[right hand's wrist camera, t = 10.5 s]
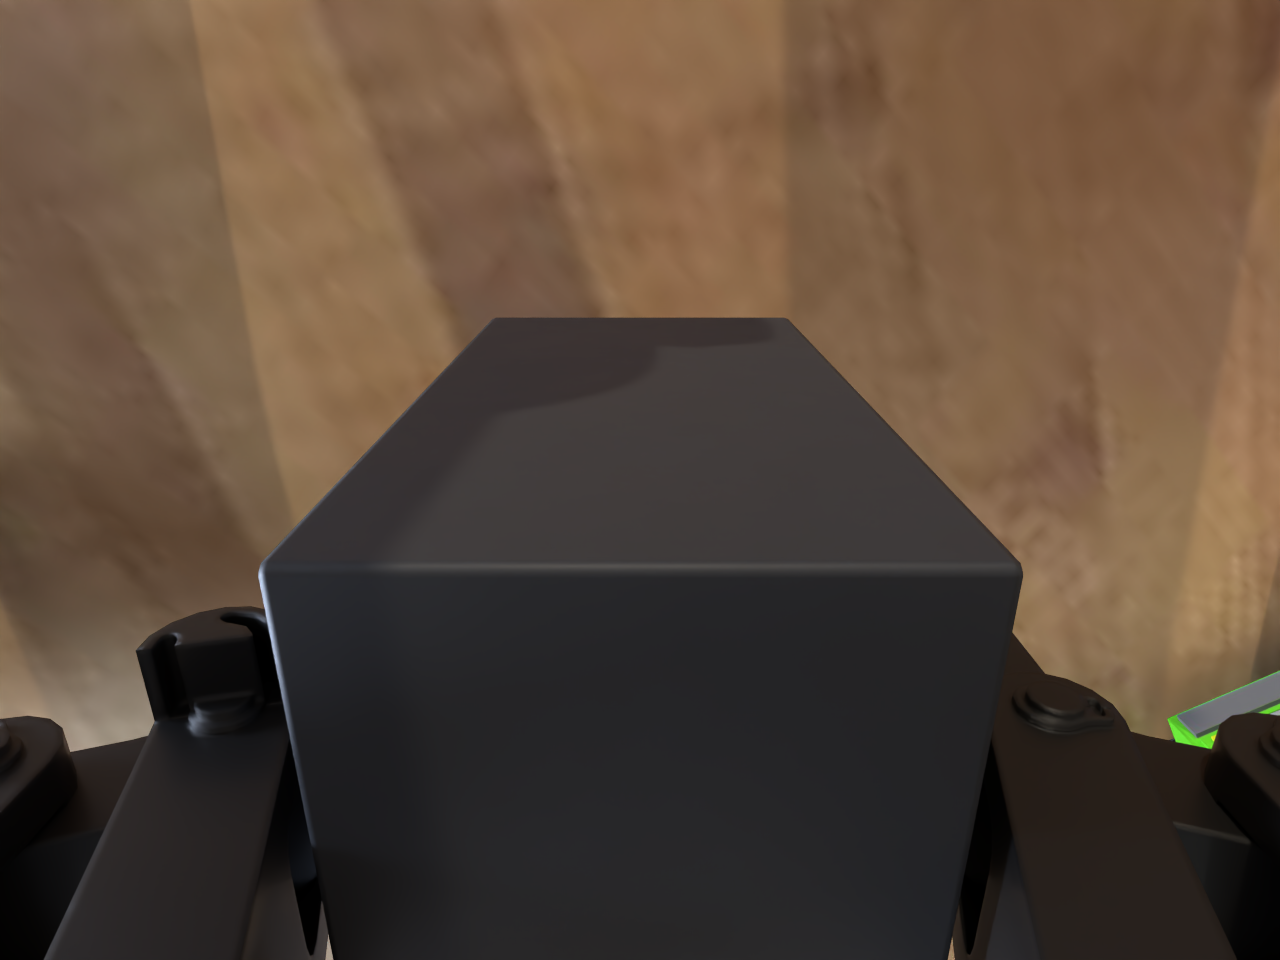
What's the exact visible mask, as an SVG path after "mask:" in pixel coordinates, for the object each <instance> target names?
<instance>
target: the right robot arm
mask: <svg viewBox="0 0 1280 960" xmlns="http://www.w3.org/2000/svg"><path fill="white" fill-rule="evenodd" d="M136 653H137V657H138V661H139V664H140V668H141V672H142V675H143V679H144V683H145V687H146V690H147V694H148V698H149V701H150V705H151V709H152V713H153V716H154V720H155V722H154V725H153V727H152V729H151V731H150V733H149V735H148V736H145V737H141V738H137V739H134V740H129V741H124V742H119V743H114V744H109V745H104V746H99V747H94V748H89V749H84V750H79V751H74V752H70V750H69V747H68V744H67V741H66V738H65V735H64V732H63V729H62V727H60V726H59V725H58V724H56V723H55V722H54V721H52V720H51V719H48V718H40V717H33V716H23V717H14V718H6V719H0V960H325V958H326V949H327V940H328V929H327V924H326V919H325V914H324V908H323V903H322V898H321V893H320V888H319V883H318V878H317V873H316V868H315V863H314V857H313V852H312V847H311V842H310V837H309V832H308V827H307V822H306V817H305V812H304V806H303V801H302V796H301V791H300V786H299V781H298V776H297V771H296V766H295V761H294V755H293V750H292V745H291V740H290V735H289V730H288V725H287V720H286V715H285V710H284V704H283V699H282V694H281V689H280V684H279V679H278V674H277V669H276V664H275V659H274V653H273V648H272V643H271V638H270V633H269V628H268V623H267V618H266V613H265V609H261V608H256V607H251V606H250V607H224V608H219V609H215V610H210V611H205V612H200V613H196V614H194V615H191V616H188V617H186V618H183V619H180V620H177V621H175V622H172V623H170V624H169V625H167V626H165V627H163V628H162V629H160V630H158V631H157V632H155V633H153V634H152V635H150V636H149V637H148V638H147V639H146V640H145V641H144V642H143V643H142V644H141V646H140V647H139V648H138V649H137V650H136ZM952 938H953V947H954V956H955V960H1280V715H1272V714H1264V713H1255V712H1253V713H1245V714H1238V715H1232V716H1230V717H1229V718H1228V719H1226V720H1225V721H1223V722H1222V723H1221V724H1220V725H1219V728H1218V731H1217V734H1216V737H1215V740H1214V743H1213V746H1212V749H1209V748H1204V747H1199V746H1194V745H1189V744H1184V743H1179V742H1174V741H1169V740H1164V739H1159V738H1154V737H1149V736H1145V735H1141V734H1138V733H1134V732H1130V730H1129V727H1128V725H1127V723H1126V721H1125V720H1124V718H1123V717H1122V716H1121V714H1120V713H1119V712H1118V711H1117V709H1116V708H1115V707H1114V706H1113V704H1111V703H1110V702H1108V701H1107V700H1106V699H1104V698H1103V697H1101V696H1100V695H1098V694H1097V693H1096V692H1094V691H1093V690H1091V689H1089V688H1086V687H1084V686H1082V685H1079V684H1077V683H1075V682H1072V681H1070V680H1068V679H1065V678H1060V677H1056V676H1052V675H1047V674H1045V673H1044V672H1043V671H1042V669H1041V668H1040V667H1039V666H1038V664H1037V663H1036V662H1035V661H1034V659H1033V658H1032V657H1031V655H1030V654H1029V653H1028V652H1027V650H1026V649H1025V648H1024V647H1023V645H1022V644H1021V643H1020V642H1019V640H1018V639H1017V638H1016V637H1015V635H1014V634H1013V633H1012V635H1011V640H1010V645H1009V650H1008V655H1007V660H1006V665H1005V670H1004V675H1003V680H1002V686H1001V691H1000V696H999V701H998V706H997V711H996V716H995V721H994V726H993V731H992V736H991V741H990V746H989V752H988V757H987V762H986V767H985V772H984V777H983V782H982V787H981V792H980V797H979V802H978V807H977V812H976V818H975V823H974V828H973V833H972V838H971V843H970V848H969V853H968V858H967V863H966V868H965V873H964V878H963V884H962V889H961V894H960V899H959V904H958V909H957V914H956V919H955V924H954V929H953V934H952Z"/></svg>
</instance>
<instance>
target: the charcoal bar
mask: <svg viewBox="0 0 1280 960" xmlns="http://www.w3.org/2000/svg"><path fill="white" fill-rule="evenodd" d="M258 577H259V582H260V587H261V592H262V597H263V602H264V608H265V613H266V618H267V623H268V628H269V633H270V638H271V643H272V648H273V653H274V659H275V664H276V669H277V674H278V679H279V684H280V689H281V694H282V699H283V704H284V710H285V715H286V720H287V725H288V730H289V735H290V740H291V745H292V750H293V755H294V761H295V766H296V771H297V776H298V781H299V786H300V791H301V796H302V801H303V806H304V812H305V817H306V822H307V827H308V832H309V837H310V842H311V847H312V852H313V857H314V863H315V868H316V873H317V878H318V883H319V888H320V893H321V898H322V903H323V908H324V914H325V919H326V924H327V929H328V934H329V939H330V944H331V949H332V954H333V959H334V960H948V955H949V949H950V944H951V939H952V934H953V929H954V924H955V919H956V914H957V909H958V904H959V899H960V894H961V889H962V884H963V878H964V873H965V868H966V863H967V858H968V853H969V848H970V843H971V838H972V833H973V828H974V823H975V818H976V812H977V807H978V802H979V797H980V792H981V787H982V782H983V777H984V772H985V767H986V762H987V757H988V752H989V746H990V741H991V736H992V731H993V726H994V721H995V716H996V711H997V706H998V701H999V696H1000V691H1001V686H1002V680H1003V675H1004V670H1005V665H1006V660H1007V655H1008V650H1009V645H1010V640H1011V635H1012V630H1013V625H1014V620H1015V614H1016V609H1017V604H1018V599H1019V594H1020V589H1021V584H1022V579H1023V571H1022V567H1021V564H1020V562H1019V561H1018V560H1017V559H1016V558H1015V557H1014V556H1013V555H1012V554H1011V553H1010V552H1009V551H1008V550H1007V549H1006V548H1005V546H1004V545H1003V544H1002V543H1001V542H1000V541H999V540H998V539H997V538H996V537H995V536H994V535H993V534H992V533H991V532H990V531H989V530H988V529H987V528H986V527H985V525H984V524H983V523H982V522H981V521H980V520H979V519H978V518H977V517H976V516H975V515H974V514H973V513H972V512H971V511H970V510H969V509H968V508H967V507H966V506H965V505H964V503H963V502H962V501H961V500H960V499H959V498H958V497H957V496H956V495H955V494H954V493H953V492H952V491H951V490H950V489H949V488H948V487H947V486H946V485H945V484H944V482H943V481H942V480H941V479H940V478H939V477H938V476H937V475H936V474H935V473H934V472H933V471H932V470H931V469H930V468H929V467H928V466H927V465H926V464H925V463H924V461H923V460H922V459H921V458H920V457H919V456H918V455H917V454H916V453H915V452H914V451H913V450H912V449H911V448H910V447H909V446H908V445H907V444H906V443H905V442H904V441H903V439H902V438H901V437H900V436H899V435H898V434H897V433H896V432H895V431H894V430H893V429H892V428H891V427H890V426H889V425H888V424H887V423H886V422H885V421H884V420H883V418H882V417H881V416H880V415H879V414H878V413H877V412H876V411H875V410H874V409H873V408H872V407H871V406H870V405H869V404H868V403H867V402H866V401H865V400H864V399H863V397H862V396H861V395H860V394H859V393H858V392H857V391H856V390H855V389H854V388H853V387H852V386H851V385H850V384H849V383H848V382H847V381H846V380H845V379H844V378H843V377H842V375H841V374H840V373H839V372H838V371H837V370H836V369H835V368H834V367H833V366H832V365H831V364H830V363H829V362H828V361H827V360H826V359H825V358H824V357H823V356H822V354H821V353H820V352H819V351H818V350H817V349H816V348H815V347H814V346H813V345H812V344H811V343H810V342H809V341H808V340H807V339H806V338H805V337H804V336H803V335H802V333H801V332H800V331H799V330H798V329H797V328H796V327H795V326H794V325H793V324H792V323H791V322H790V321H789V320H788V319H786V318H494V319H492V320H491V321H490V322H489V323H488V324H487V326H486V327H485V328H484V329H483V330H482V331H481V332H480V333H479V334H478V335H477V336H476V337H475V338H474V339H473V340H472V341H471V342H470V343H469V345H468V346H467V347H466V348H465V349H464V350H463V351H462V352H461V353H460V354H459V355H458V356H457V357H456V358H455V359H454V360H453V361H452V362H451V363H450V365H449V366H448V367H447V368H446V369H445V370H444V371H443V372H442V373H441V374H440V375H439V376H438V377H437V378H436V379H435V380H434V381H433V382H432V383H431V385H430V386H429V387H428V388H427V389H426V390H425V391H424V392H423V393H422V394H421V395H420V396H419V397H418V398H417V399H416V400H415V401H414V402H413V404H412V405H411V406H410V407H409V408H408V409H407V410H406V411H405V412H404V413H403V414H402V415H401V416H400V417H399V418H398V419H397V420H396V421H395V422H394V424H393V425H392V426H391V427H390V428H389V429H388V430H387V431H386V432H385V433H384V434H383V435H382V436H381V437H380V438H379V439H378V440H377V441H376V442H375V444H374V445H373V446H372V447H371V448H370V449H369V450H368V451H367V452H366V453H365V454H364V455H363V456H362V457H361V458H360V459H359V460H358V461H357V462H356V464H355V465H354V466H353V467H352V468H351V469H350V470H349V471H348V472H347V473H346V474H345V475H344V476H343V477H342V478H341V479H340V480H339V481H338V483H337V484H336V485H335V486H334V487H333V488H332V489H331V490H330V491H329V492H328V493H327V494H326V495H325V496H324V497H323V498H322V499H321V500H320V501H319V503H318V504H317V505H316V506H315V507H314V508H313V509H312V510H311V511H310V512H309V513H308V514H307V515H306V516H305V517H304V518H303V519H302V520H301V521H300V523H299V524H298V525H297V526H296V527H295V528H294V529H293V530H292V531H291V532H290V533H289V534H288V535H287V536H286V537H285V538H284V539H283V540H282V542H281V543H280V544H279V545H278V546H277V547H276V548H275V549H274V550H273V551H272V552H271V553H270V554H269V555H268V556H267V557H266V558H265V559H264V560H263V562H262V563H261V565H260V569H259V575H258Z"/></svg>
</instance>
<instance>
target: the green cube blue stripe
mask: <svg viewBox="0 0 1280 960" xmlns="http://www.w3.org/2000/svg"><path fill="white" fill-rule="evenodd" d="M1253 712H1255V713H1264V714H1272V715H1280V671H1278V672H1275V673H1273V674H1271V675H1268V676H1266V677H1264V678H1261V679H1259V680H1257V681H1254V682H1252V683H1250V684H1247V685H1245V686H1243V687H1240V688H1238V689H1236V690H1233V691H1231V692H1228V693H1226V694H1224V695H1221V696H1219V697H1217V698H1214V699H1212V700H1210V701H1207V702H1205V703H1203V704H1200V705H1198V706H1196V707H1193V708H1191V709H1189V710H1186V711H1184V712H1182V713H1179V714H1177V715H1175V716H1172V717H1170V718H1168V722H1169V725H1170V727H1171V730H1172V733H1173V736H1174V739H1171V740H1169V741H1174V742H1179V743H1184V744H1189V745H1194V746H1199V747H1204V748H1209V749H1212V746H1213V743H1214V740H1215V737H1216V734H1217V731H1218V728H1219V725H1220V724H1221V723H1222V722H1223V721H1225V720H1226V719H1228V718H1229V717H1230V716H1232V715H1238V714H1245V713H1253Z"/></svg>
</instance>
